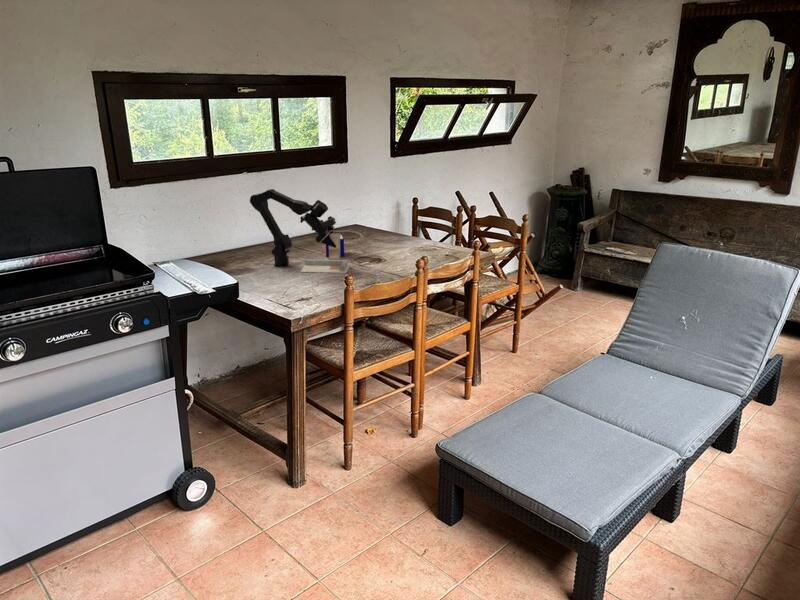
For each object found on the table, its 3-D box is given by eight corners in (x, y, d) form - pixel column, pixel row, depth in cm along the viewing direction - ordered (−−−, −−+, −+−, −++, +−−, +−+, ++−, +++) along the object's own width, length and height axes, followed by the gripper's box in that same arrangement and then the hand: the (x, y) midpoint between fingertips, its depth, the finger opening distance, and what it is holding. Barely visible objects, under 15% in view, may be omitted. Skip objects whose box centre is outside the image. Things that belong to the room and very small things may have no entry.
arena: (300, 272, 300) (300, 266, 299) (305, 265, 313) (305, 259, 312) (346, 273, 299) (346, 267, 298) (349, 265, 312) (349, 260, 311)
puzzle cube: (326, 257, 329) (325, 239, 326) (324, 253, 338) (324, 235, 335) (344, 256, 331) (344, 238, 328) (342, 252, 340) (342, 234, 337)
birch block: (337, 260, 301) (337, 236, 297) (329, 259, 301) (328, 236, 297) (340, 257, 307) (339, 233, 303) (331, 256, 307) (331, 233, 303)
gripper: (321, 215, 288) (344, 239, 291) (329, 208, 306) (351, 231, 308) (305, 231, 291) (328, 254, 294) (315, 223, 309) (336, 245, 311)
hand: (337, 245), depth 302 cm, fingers closed on birch block, 6 cm apart
